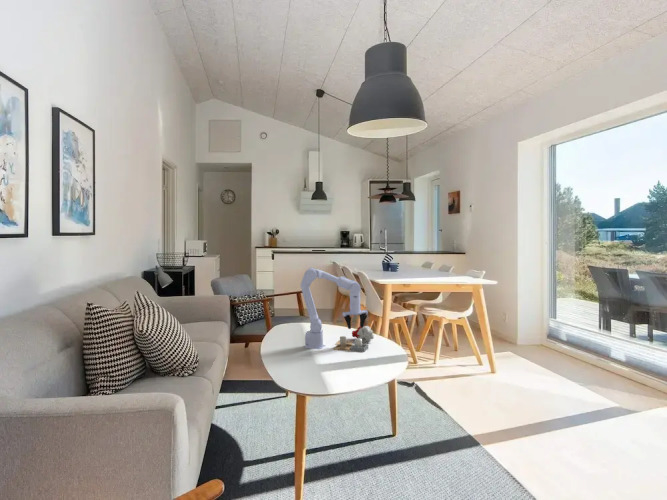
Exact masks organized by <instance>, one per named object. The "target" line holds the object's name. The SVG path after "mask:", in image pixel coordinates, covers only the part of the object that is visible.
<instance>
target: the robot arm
mask: <svg viewBox="0 0 667 500" xmlns="http://www.w3.org/2000/svg"><path fill="white" fill-rule="evenodd" d="M316 279H318V280H320V279H324V280H327V281H330V282H334V283H336V286H337V287H339V288H342V289H344V290H347V291H350V295H349V309H350V310H349V311H343V312H342V317H343V318H344V320H345V322H346V325H347V328H348V330H351V329H352V328H351V326H352V317H351V316H359V321H360V323H359V325H360V326H359V327H362V328H363V326H365V325H364V324H365V321H366V319H367V318H368V314H369V310H367V309H362V310H361V289H362V287H361V285H360V284H359V282H357V281H356V280H354V279H352V280H351V279H350V278H347V277H346V276H345V275H344V276H342V275H341V276H339V277H338V276H335V275H333V274H331V273H329V272H326V271H325V270H321V269H318V268H317V269H316V268H314V267H309V268H307V270H306V271H305V272H304V274H303V277H302V280H301V283H300V288H301V293H302V296H303V298H304V299H303V300H304V303H305V307H306V309H307V314H308V316H309V322H310V326H309V327H310V328H309V330H307V331H306V332H305V335H304V344H305V345H304V349H313V350H321V349H322V348H324V347H326V344H324V339H323V338H324V335H323V334H324V333H323V331H324V330H323V329H322V328H323V325H322V324H323V322H322V320H321V319H320V317H319V315H318V312H317V308H316V305H315V301H314V298H313V296H312V291H311V288H310V286H311V284H312V283H313V282H314V281H315V280H316Z"/></svg>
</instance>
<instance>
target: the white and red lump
mask: <svg viewBox="0 0 667 500" xmlns="http://www.w3.org/2000/svg"><path fill="white" fill-rule="evenodd" d="M373 333H374V331H373V330H372V329H371V327H370V326H368V325H364V326H363V328H362V327H360V326H359V327H357V329H356V330H353V331H351V336H352V337H353V338H355V339H357V338H361V339H362V343H363V342H365V343H369V342H370V341H372V340H373V339H374V334H373Z"/></svg>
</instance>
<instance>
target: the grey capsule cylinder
mask: <svg viewBox="0 0 667 500" xmlns="http://www.w3.org/2000/svg"><path fill="white" fill-rule="evenodd" d="M339 340H340V347H341V348H345V347H346V341H347V337H346V336H345V335H341V336H339Z"/></svg>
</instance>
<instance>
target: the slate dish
mask: <svg viewBox="0 0 667 500" xmlns="http://www.w3.org/2000/svg"><path fill="white" fill-rule="evenodd" d="M353 344H354V345H353V346H351V352H360V353H364V352H366V351H367V350H369V344H368V343H367V344H363V343H362V348H360V347H356V342H355V343H353Z"/></svg>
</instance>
